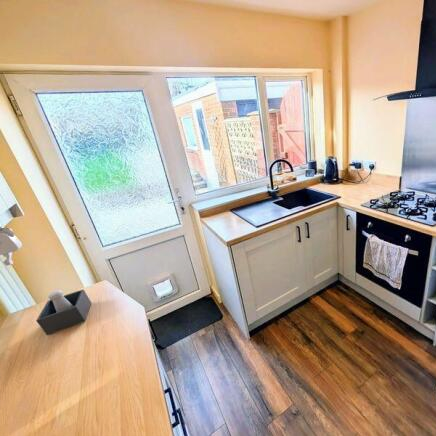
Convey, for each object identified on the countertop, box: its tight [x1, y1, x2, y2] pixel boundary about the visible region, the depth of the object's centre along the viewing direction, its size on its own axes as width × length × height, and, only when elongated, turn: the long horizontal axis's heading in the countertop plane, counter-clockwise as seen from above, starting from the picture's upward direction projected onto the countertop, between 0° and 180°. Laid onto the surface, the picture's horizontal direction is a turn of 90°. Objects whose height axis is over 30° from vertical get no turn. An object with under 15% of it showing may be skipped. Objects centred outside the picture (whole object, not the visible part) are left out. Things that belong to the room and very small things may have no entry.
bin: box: [36, 289, 92, 336], centre depth 103 cm, size 13×13×8 cm
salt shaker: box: [47, 289, 74, 312], centre depth 101 cm, size 6×6×13 cm
